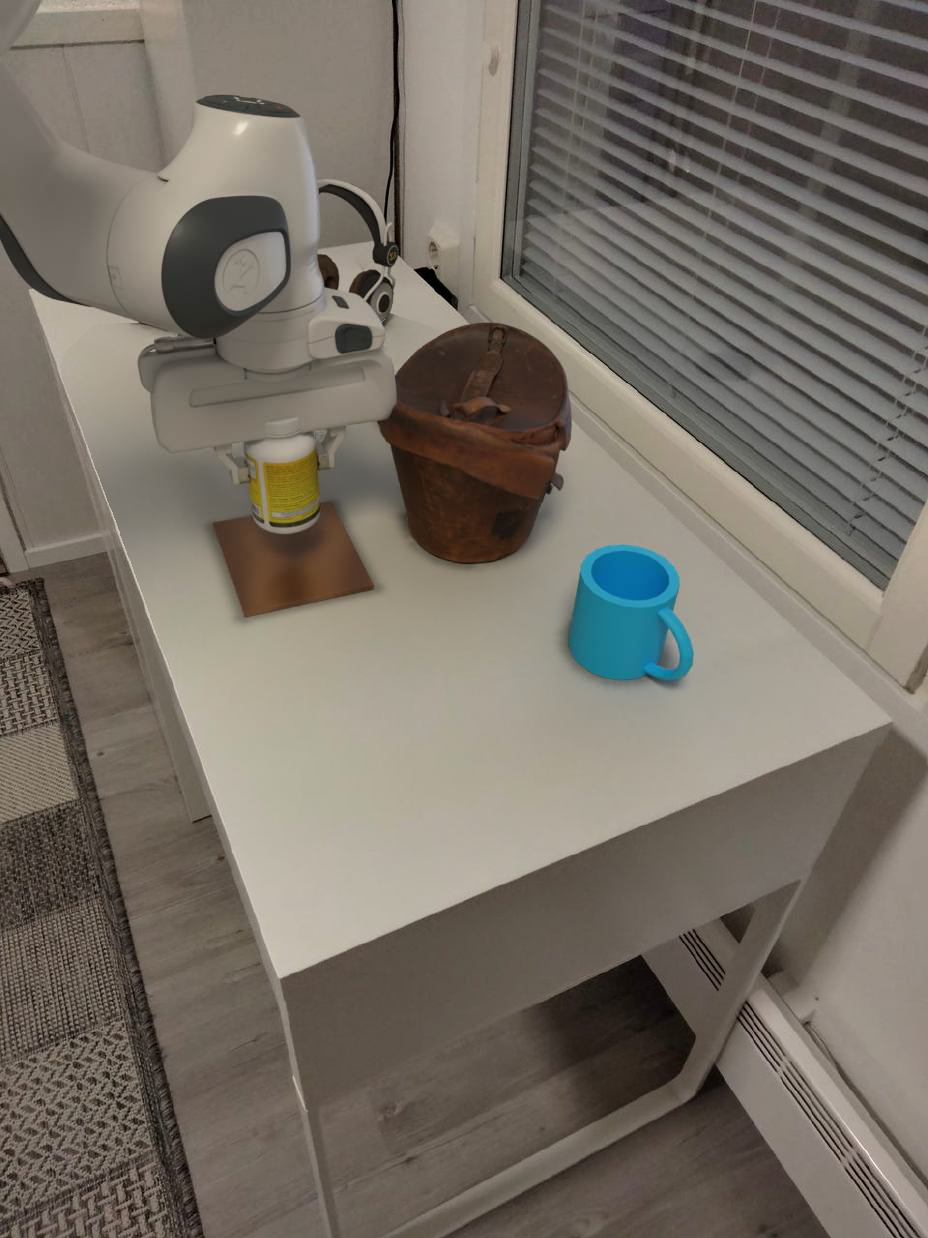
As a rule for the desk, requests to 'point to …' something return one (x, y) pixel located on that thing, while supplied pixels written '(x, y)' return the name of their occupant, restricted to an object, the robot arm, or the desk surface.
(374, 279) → the headset
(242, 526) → the brown wooden coaster
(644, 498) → the desk surface
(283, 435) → the pill bottle
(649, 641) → the mug
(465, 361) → the case
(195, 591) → the desk surface
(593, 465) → the desk surface
